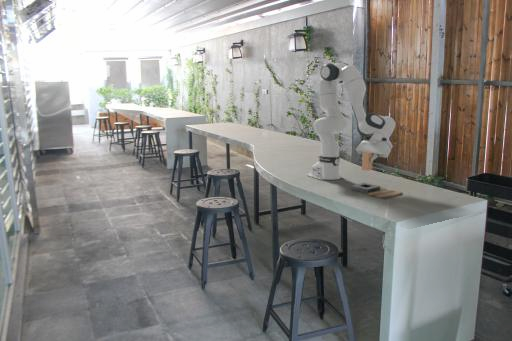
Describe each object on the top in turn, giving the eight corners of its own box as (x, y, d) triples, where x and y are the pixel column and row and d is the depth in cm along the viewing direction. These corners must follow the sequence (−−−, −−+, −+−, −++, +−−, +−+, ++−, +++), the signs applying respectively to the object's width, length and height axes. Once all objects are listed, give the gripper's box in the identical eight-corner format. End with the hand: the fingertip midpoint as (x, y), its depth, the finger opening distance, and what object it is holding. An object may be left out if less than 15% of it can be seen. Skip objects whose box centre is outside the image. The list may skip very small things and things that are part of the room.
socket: (351, 189, 262) (351, 185, 262) (363, 186, 270) (363, 182, 269) (367, 193, 254) (367, 189, 253) (380, 190, 261) (380, 186, 260)
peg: (361, 169, 259) (362, 152, 257) (366, 168, 262) (366, 151, 260) (367, 170, 256) (368, 153, 254) (371, 169, 259) (372, 152, 257)
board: (367, 195, 251) (367, 193, 251) (385, 190, 261) (385, 188, 261) (384, 199, 243) (384, 197, 243) (402, 194, 253) (402, 192, 252)
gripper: (360, 136, 268) (349, 154, 264) (391, 139, 252) (379, 159, 248) (365, 142, 271) (354, 161, 267) (395, 146, 256) (384, 166, 252)
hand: (366, 160), depth 258 cm, fingers closed on peg, 4 cm apart
